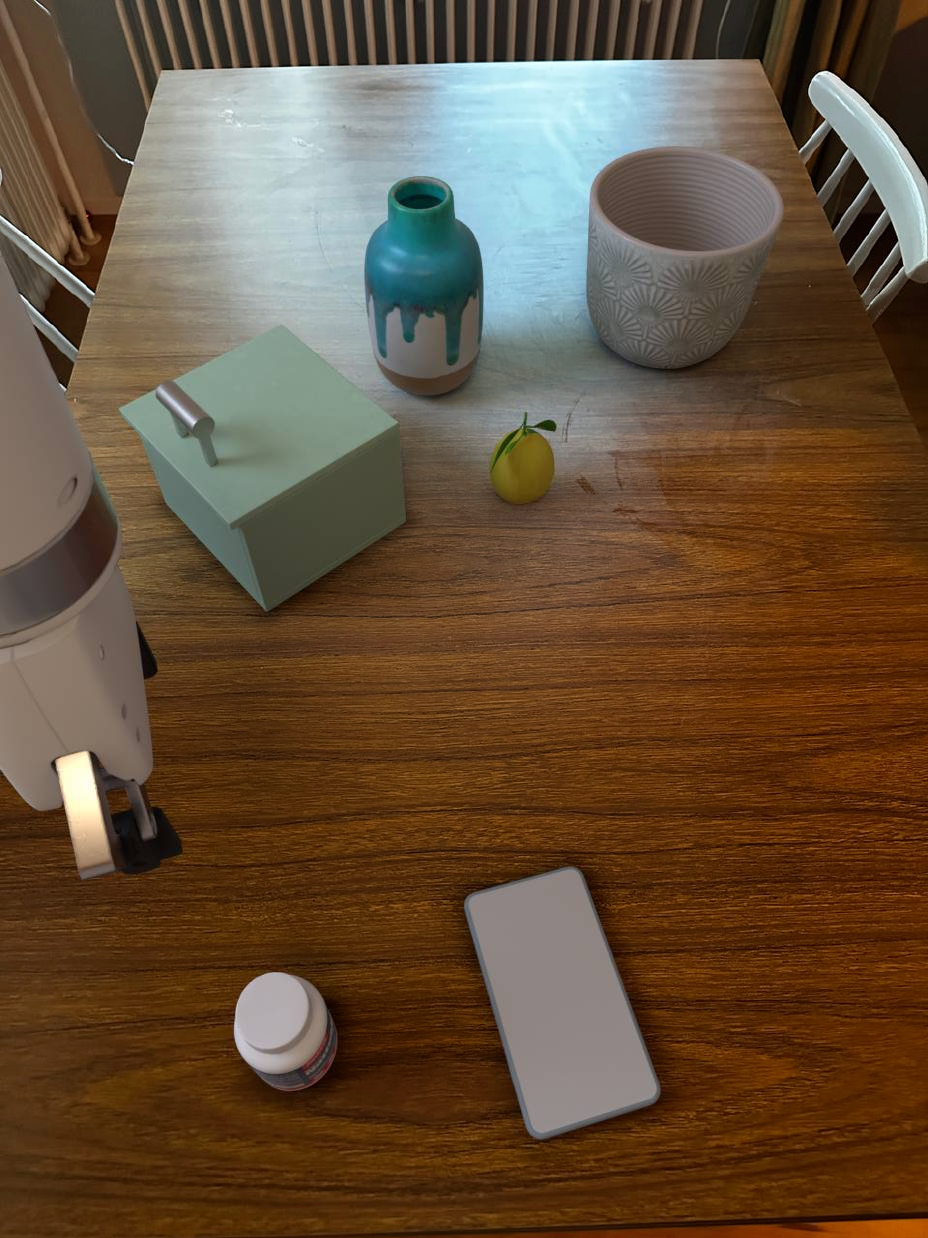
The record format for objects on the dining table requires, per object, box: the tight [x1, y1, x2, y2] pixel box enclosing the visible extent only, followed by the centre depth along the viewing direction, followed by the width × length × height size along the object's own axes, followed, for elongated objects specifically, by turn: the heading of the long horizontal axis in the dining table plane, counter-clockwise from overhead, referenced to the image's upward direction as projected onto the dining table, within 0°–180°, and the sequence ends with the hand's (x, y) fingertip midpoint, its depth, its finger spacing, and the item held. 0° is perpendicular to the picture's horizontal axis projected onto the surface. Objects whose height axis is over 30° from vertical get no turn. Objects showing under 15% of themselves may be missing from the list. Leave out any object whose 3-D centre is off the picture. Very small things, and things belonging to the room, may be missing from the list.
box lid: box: [118, 323, 400, 530], centre depth 72 cm, size 15×16×6 cm
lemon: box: [489, 411, 558, 505], centre depth 80 cm, size 7×6×10 cm
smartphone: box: [463, 866, 661, 1141], centre depth 60 cm, size 8×1×15 cm
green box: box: [139, 429, 407, 613], centre depth 79 cm, size 15×16×11 cm
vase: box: [363, 175, 485, 396], centre depth 85 cm, size 11×11×19 cm
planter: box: [585, 145, 785, 370], centre depth 90 cm, size 17×17×15 cm
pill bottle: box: [233, 971, 338, 1092], centre depth 55 cm, size 5×5×9 cm
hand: (136, 762), depth 45 cm, fingers open, 9 cm apart
